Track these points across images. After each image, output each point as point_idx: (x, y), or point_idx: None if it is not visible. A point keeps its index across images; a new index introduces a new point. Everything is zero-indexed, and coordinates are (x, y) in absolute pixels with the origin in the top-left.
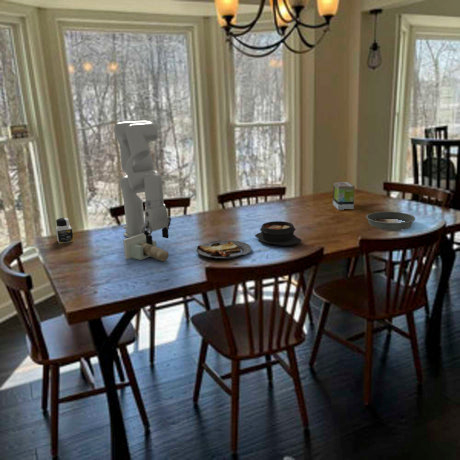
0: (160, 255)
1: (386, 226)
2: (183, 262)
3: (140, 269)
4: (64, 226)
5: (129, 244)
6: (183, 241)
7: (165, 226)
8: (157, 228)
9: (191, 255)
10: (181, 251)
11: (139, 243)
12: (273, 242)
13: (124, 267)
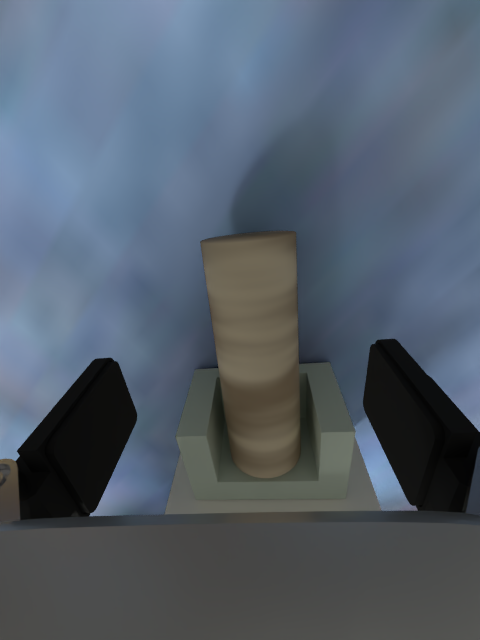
0: (294, 239)
1: None
2: (161, 50)
3: (469, 240)
4: None
5: (346, 501)
6: None
7: (21, 537)
8: (400, 572)
9: (18, 153)
10: (50, 290)
11: (281, 478)
12: None
13: (467, 349)
